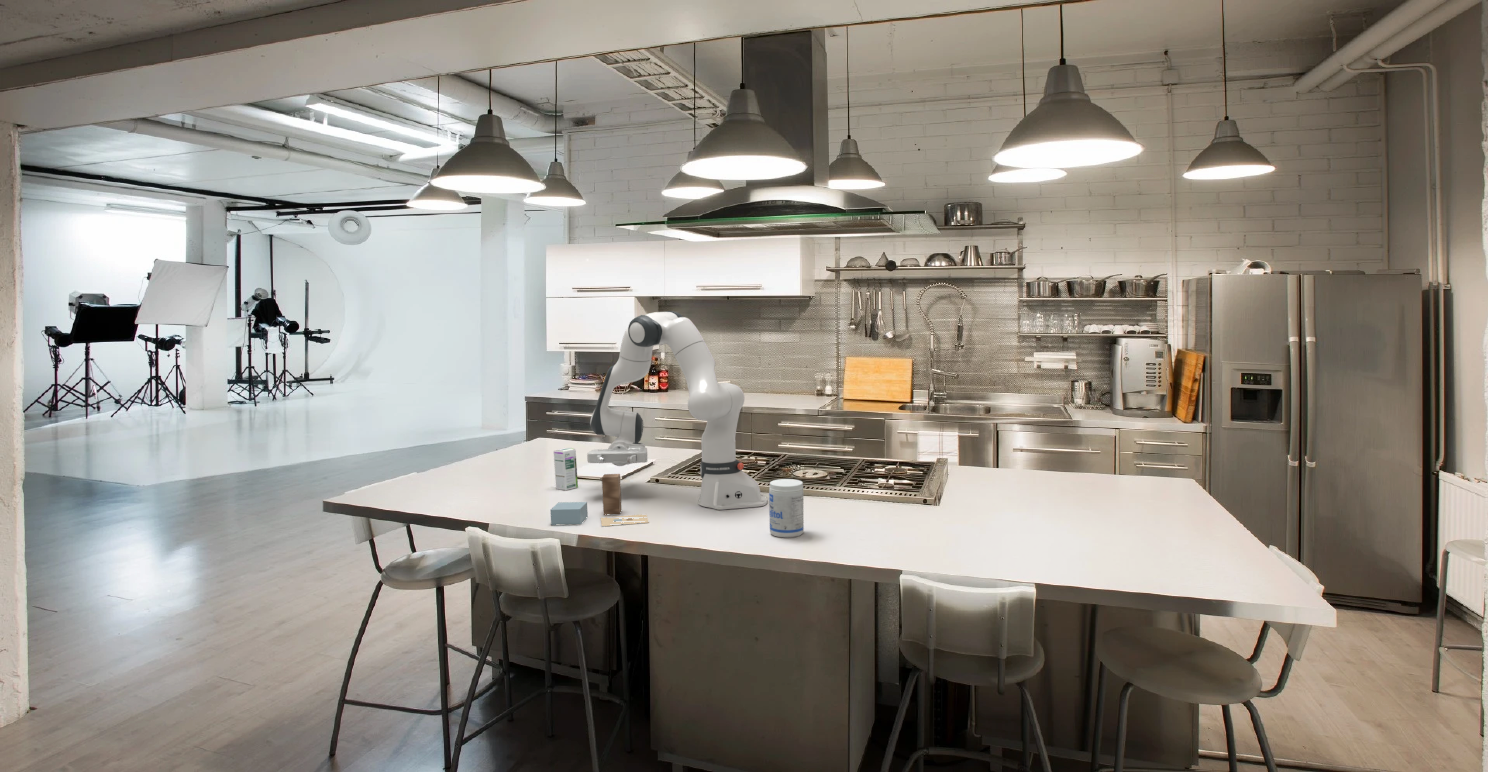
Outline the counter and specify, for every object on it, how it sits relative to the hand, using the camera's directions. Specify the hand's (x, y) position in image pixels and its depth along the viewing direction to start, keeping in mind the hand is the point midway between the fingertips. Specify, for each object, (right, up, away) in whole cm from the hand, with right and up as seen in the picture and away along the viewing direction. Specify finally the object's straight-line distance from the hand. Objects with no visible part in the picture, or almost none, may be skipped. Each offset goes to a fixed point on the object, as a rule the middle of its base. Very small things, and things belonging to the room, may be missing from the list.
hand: (615, 460), depth 263 cm
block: (+1, -16, -11) cm, 19 cm away
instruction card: (+6, -16, -21) cm, 27 cm away
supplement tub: (+55, -17, -40) cm, 70 cm away
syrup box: (-22, -13, +27) cm, 37 cm away
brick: (-11, -17, -19) cm, 28 cm away
